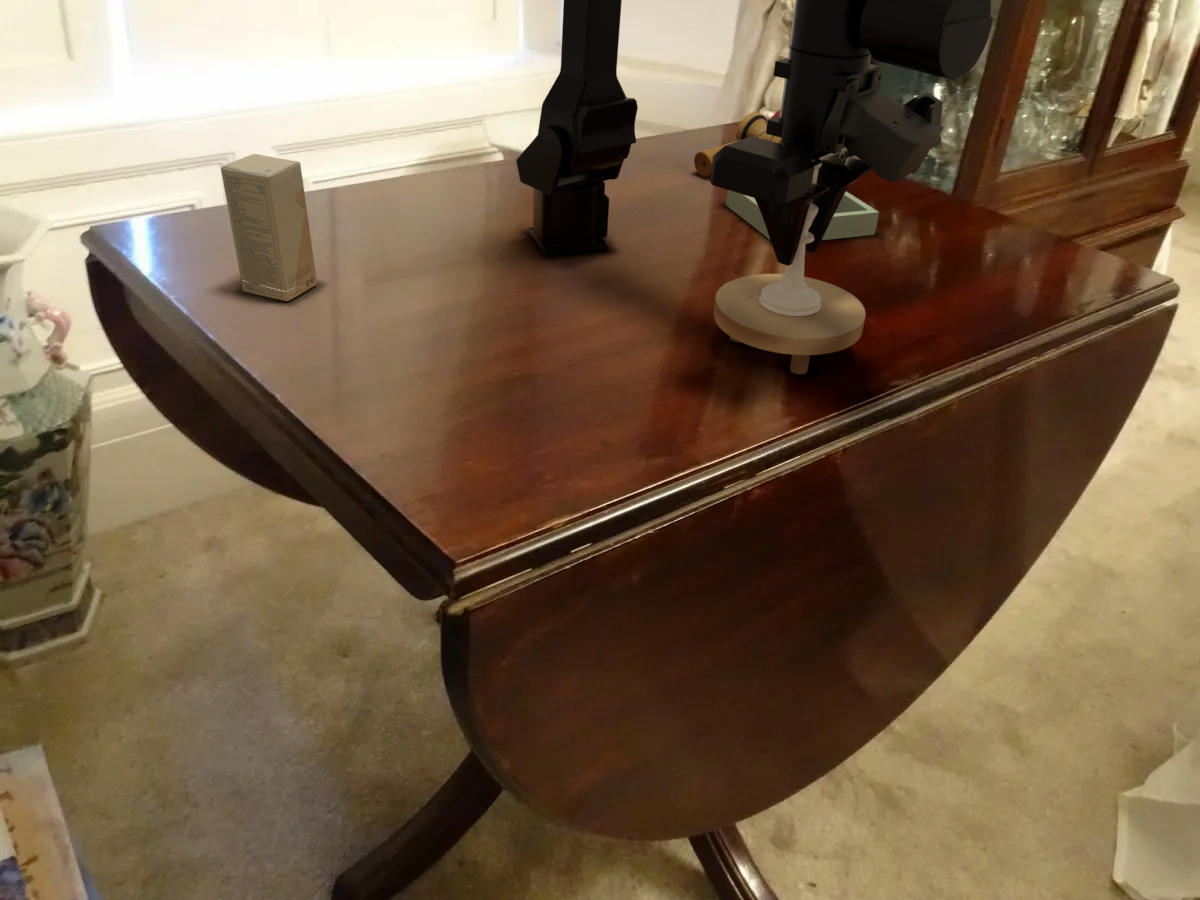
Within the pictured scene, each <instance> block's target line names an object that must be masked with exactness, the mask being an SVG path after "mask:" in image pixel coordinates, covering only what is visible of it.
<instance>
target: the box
mask: <svg viewBox="0 0 1200 900" xmlns="http://www.w3.org/2000/svg"><path fill="white" fill-rule="evenodd" d="M220 172H221V177H222V183H223V188H224V193H225V199H226V204H227V211H228V216H229V221H230V227H231V232H232V233H231V234H232V238H233V243H234V249H235V255H236V260H237V266H238V271H239V277H240V282H241V283H240V284H241V288H242V291H243V292H246V293H249V294H253V295H257V296H262V297H266V298H269V299H275V300H279V301H284V302H289V301H291V300H293V299H295V298H296V297H298V296H300V295H302V294H303V293H306V292H307V291H309V290H310V289H312V288H314V287H315V286H317V285H318V279H317V273H316V266H315V259H314V251H313V245H312V237H311V229H310V223H309V222H310V221H309V218H308V217H309V216H308V208H307V203H306V195H305V188H304V179H303V173H302V166H301V162H300V161H298V160H291V159H287V158H286V159H285V158H281V157H280V158H279V157H275V156H269V155H264V154H258V153H253V154H249V155H247V156H244V157H242V158H239V159H236V160H234V161H231V162H229V163H226V164H223V165H221V166H220ZM241 279H242V280H245V281H248V282H251V283H254V284H257V285H254V284H251V283H247V282H244V281H241ZM308 279H310V280H308ZM307 280H308V281H307ZM305 281H306V282H305ZM303 282H304V283H303ZM301 283H303V284H301ZM300 284H301V285H300ZM258 285H263V286H266V287H271V288H275V289H280V290H284V291H287V290H290V289H291V288H293V287H295V286H297V287H295V288H294V289H292V290H290V291H288V292H282V291H278V290H274V289H270V288H266V287H262V286H258ZM298 285H299V286H298Z"/></svg>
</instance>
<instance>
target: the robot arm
mask: <svg viewBox="0 0 1200 900" xmlns="http://www.w3.org/2000/svg"><path fill="white" fill-rule="evenodd" d="M622 1H623V0H563V5H562V6H563V8H562V27H561V28H562V29H561V31H562V32H561V53H560V69H559V73H558V75H557V76H556V78H555V80H554V82H553V84H552V86H551V87H550V89H549V91H548V92H547V94H546V96H545V98H544V100H543V101H542V104H541V110H540V116H539V123H538V129H537V135H536V136H535V137H534V139H533V140H531V142H530V143H529V144H528V146H527V147H525V149H524V150H523V151H522V153H520V155H519V156H518V157H517V158H516V160H515V161H516V167H517V171H518V177H519V181H520V183H521V184H524V185H526V186H528V187H530V188H532V189H533V202H532V203H533V204H532V205H533V209H532V210H533V212H532V213H533V214H532V216H533V217H532V219H533V220H532V221H533V222H532V226H529V227H527V234H528V235H529V236H530V237H531V239H532V240H533V242H534V243H536V245H537V246H538V247H539V248H540V250H541V252H542V253H543V254H544V255H545V256H558V255H569V254H579V253H589V252H590V253H591V252H599V251H607V250H609V243H608V242H607V240H606V239H604V238H607V237H608V231H609V229H608V228H609V212H610V211H609V210H610V197H609V196H608V195H607V194H605V193H606V182H605V181H610V180H612V181H613V180H617V179H619V175H620V173H621V169H622V166H623V163H624V162H625V160H626V159H627V158H628V157H629V155H630V151H631V148H632V145H633V144H636V143H637V137H636V119H637V114H638V111H639V106H638V102H637V99H635V98H634V97H628V96H627V95H626V93H625V91H624V89H623V87H622V85H621V82H620V80H619V78H618V71H617V69H618V67H617V66H618V57H619V56H618V55H619V43H620V30H621V16H622V15H621V14H622V3H623V2H622ZM991 15H992V2H991V0H795V1H794V9H793V16H792V24H791V32H790V38H789V45H788V52H787V57H785V58H782V59H778V60H775V61H774V69H773V77H777V78H780V79H781V78H782V79H784V81H783V87H782V96H781V101H780V102H781V103H780V109H779V110H780V116H778V117H775V118H772V119H771V118H769V119H767V128H766V134H769V135H772V136H776V137H780V138H781V143H783V144H780V143H776V142H772V141H768V140H764V139H761V138H757V137H753V136H751V137H748V138H745V139H742V140H740V141H737V140H736V141H737V142H735V141H733V142H734V143H731V142H730V143H731V144H729V145H726V146H724V147H723V148H722V149H721V150H719V151H718V152H717V153H716V154H715V155H713V161H712V170H711V175H710V179H709V182H710V183H711V185H712V186H714V187H716V188H720V189H724V190H727V191H728V190H730V191H733V192H736V193H740V194H743V195H746V196H750V197H753V198H755V200H756V203H757V205H758V207H759V210H760V212H761V215H762V217H763V220H764V223H765V226H766V229H767V231H768V234H769V237H770V243H771V246H772V249H773V251H774V252H773V253H774V255H775V257H776V260H777V262H778V263H779V264H781V265H783V266H786V267H787V266H789V265H791V264H792V263H793V260H794V258H795V255H796V252H797V249H798V246H799V242H800V238H801V235H802V231H803V228H804V224H805V221H806V217H807V213H808V210H809V206H810V204H811V203H812V204H814V205H816V206H817V207H818V212H817V214H816V216H815V218H814V220H813V222H812V224H811V226H810V228H809V229H808V231H809V232H810V233H812V234H813V235H814V241H813V242H811V243H807V244H805V252H807V253H811V254H814V253H816V252H817V251H818V248H819V247H820V244H821V242H822V241H823V240H822V238H823V236H824V234H825V232H826V230H827V228H828V226H829V224H830V222H831V220H832V218H833V216H834V214H835V212H836V210H837V208H838V206H839V204H840V202H841V200H842V198H843V196H844V194H845V192H847V191H848V188H849V187H850V186H851V185H852V184H854V183H855V182H857V181H858V180H860V179H861V178H863V177H865V176H866V175H867V174H869V173H871V172H873V171H874V173H875V175H877V176H878V177H880V178H881V179H882V180H884V181H887V182H889V183H898V182H900V181H901V180H902V179H903V178H904V177H906V176H908V175H911V174H916V173H917V172H918V171H919V169H920V168H921V166H922V164H923V162H924V161H925V159H926V158H927V156H928V154H929V153H930V151H931V150H932V149H933V148H935V147H938V146H939V145H940V144H941V142H942V137H941V133H942V132H943V130H944V128H945V127H944V126H942V125H941V124H942V117H943V116H942V115H943V107H944V102H943V101H942V100H941V99H939V98H938V97H936V96H935V95H933V94H932V93H930V92H928V91H927V92H924V93H921V94H919V95H917V96H914V97H913V98H912V99H910V100H909V101H907V102H906V103H904V104H903V101H904V99H903V98H902V97H900V96H898V97H895V98H892V97H890V96H889V95H888V94H885V93H884V92H882V91H881V85H882V80H883V72H882V71H881V65H877V64H872V63H871V59H872V58H873V59H874V60H875V61H877V62H880V63H883V64H887V65H891V66H895V67H900V68H904V69H908V70H912V71H914V72H915V71H916V72H919V73H922V74H923V73H924V74H927V75H930V76H935V77H939V78H942V79H947V80H951V81H958V80H960V79H961V78H962V77H964V76H966V75H967V74H968V73H969V72H970V71H971V70H973V68H974V66H975V65H976V64H977V62H978V61H979V59H980V58H981V56H982V54H983V52H984V50H985V48H986V46H987V44H988V40H989V38H990V35H991V31H992V27H993V22H994V18H993V16H991Z"/></svg>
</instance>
